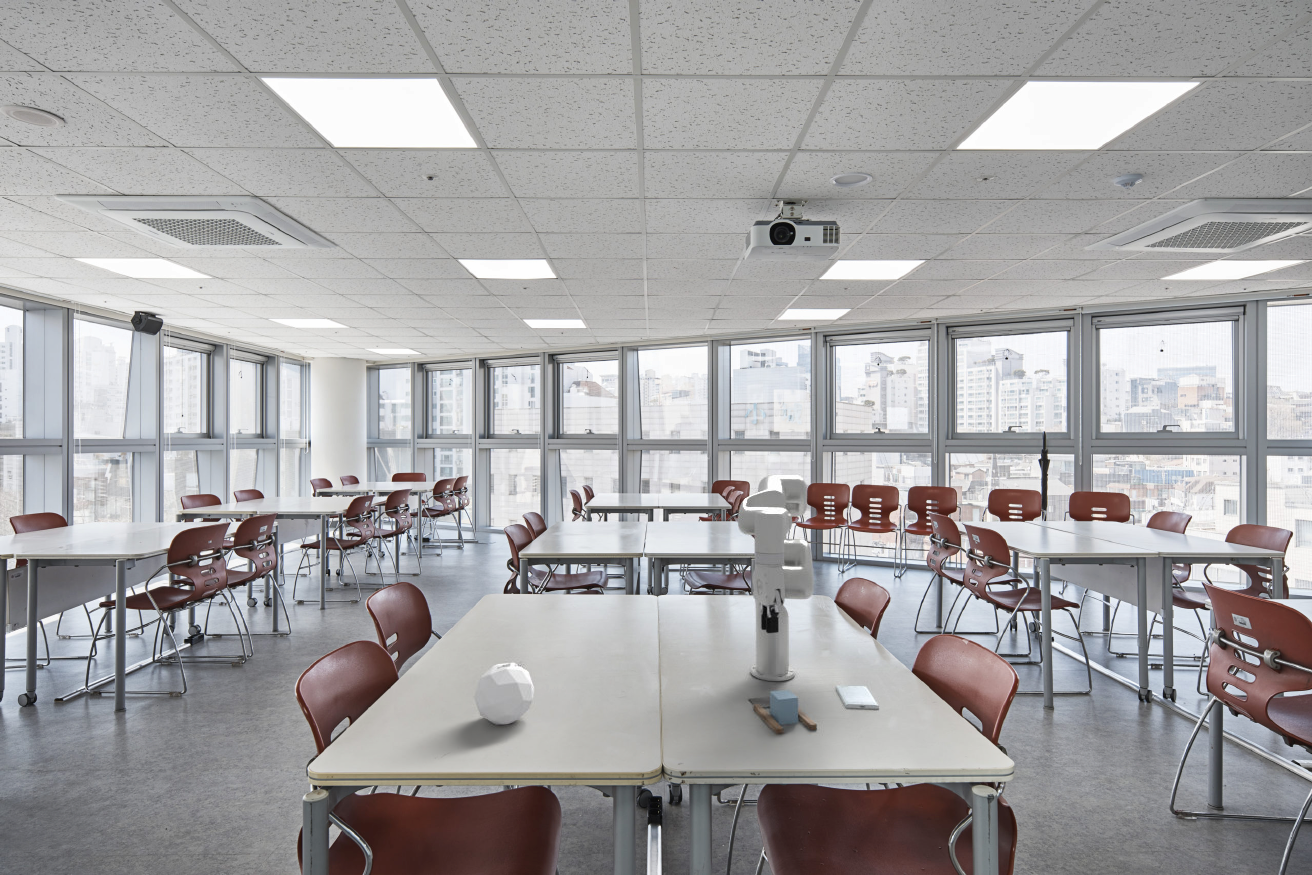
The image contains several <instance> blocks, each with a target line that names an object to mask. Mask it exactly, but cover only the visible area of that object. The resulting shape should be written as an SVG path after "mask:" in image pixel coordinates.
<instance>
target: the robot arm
mask: <svg viewBox="0 0 1312 875" xmlns="http://www.w3.org/2000/svg"><path fill="white" fill-rule="evenodd" d="M807 502H808V488H807V484H806V482H805V480H804V478H803V477H801V476H800V475H794V474H793V475H790V474H789V475H785V474H784V475H783V474H776V475H767V476H765V477H763V478H761V480H760V481H759V483H758V487H757V491H756V492H755V493H754V494H752V495H749V496H747V497H746V498H744V499H743V500H742V502H741V503H740V505H739V510H738V516H737V525H738V526H737V527H738V530H739V531H740V532H741V533H742V534H744V535H747V536H750V535H751V536H754V569H753V570H754V571H753V572H752V576H751V577H752V586H753V590H752V597H753V599H754V604H755V664H754V665H752V666H751V667H750V673H751V675H752V676H753V677H755V678H757V679H760V680H764V681H769V682H784V681H789V680H791V679H793V678H794V677H795V669H794V668H793V667H791V666H790V640H789V639H790V635H789V634H790V630H789V629H790V627H789V626H790V623H789V622H790V621H789V620H790V619H789V617H790V616H789V612H788V610H787V608H786V607H785V605H784V604H785V601H786V600H808V599H810V598H811V597H812V595H813V593H814V590H815V589H814V588H815V585H814V584H815V581H814V568H813V567H814V566H813V556H812V555H813V554H812V548H811V546H810V543H808V542H807V541H806V540H804V539H800V538H799V539H795V538H793V539H792V538H787V534H788V533H789V531H790V530H791V529H792V527H793V526H792V525H793V517H802V516H803V515H805V513H806V511H807V505H808V503H807Z"/></svg>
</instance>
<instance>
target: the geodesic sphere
mask: <svg viewBox="0 0 1312 875" xmlns="http://www.w3.org/2000/svg"><path fill="white" fill-rule="evenodd" d="M524 666H525V664H523V665H522V661H520V662H519V663H518V664H517V663H515V662H507V663H504V662H503V663H498V664H494V665H493V666H492V667H490V668H489V669H488V670H487V671H486V672H485V673H484V674H482V675H481V676H480V677H479V679H478V683H477V685H476V689H475V693H474V696H473V698H474V701H475V705H476V707H477V711H478V713H479V716H481V717H482V718H484V719H485V720H487V721H489V722H491V723H492V724H495V725H509V724H512V723H515V722H516V721H518V720H519V719H520V718H521V717H523V716H524V715H525V714H526V713H527V711H528V710H529V709H530V707H531V705H532V702H533V700H534V694H535V693H534V692H535V687H534V684H533V681H532V678H531V675H530V672H529V670H526V669H525V668H523V667H524Z"/></svg>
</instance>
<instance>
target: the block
mask: <svg viewBox="0 0 1312 875" xmlns="http://www.w3.org/2000/svg"><path fill="white" fill-rule="evenodd" d="M769 697H770V708H769V715H770V716H771V717H772V718H773V719H774V720H775V721H776V722H777V723H778V724H779V725H780V726H782V725H788V724H789V725H790V724H797V723H799V719H798V708H799V697H798V696H797V695H795V693H793V692H792V691H791V690H789V689H783V690H772V691H769Z"/></svg>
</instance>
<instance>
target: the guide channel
mask: <svg viewBox="0 0 1312 875" xmlns="http://www.w3.org/2000/svg"><path fill="white" fill-rule="evenodd" d="M747 701H748V702H750V703H751V704H752V705H753V710H754V712H756V714H757V715H758V716H759V717H760V718H761V719H762V720H763V721H764V722H765V723H766V724H767V725H768V726H769V727H770V728H771V729H772V730H773V732H774V733H776V735H782V734H784V728H783V726H782V725H779V724H778V723H777V722H776V721H775V720H774V719H773V718H772V717H771V716H770V713H769V712H767V710H766V709H770V696H761V697H751V698H748V700H747ZM799 720H800V722H802V724H804V726H805V727H807V728H808V729H809V730H810V731H816V730H817V729H818V728H817V726H818V725H817V723H816V722H815V721H814V720H813V719H811V718H810V717H809V716H808V715H807V714H806V713H805V712H804V711H802V710H801V709H800V708H799V707H798V721H799Z"/></svg>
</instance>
